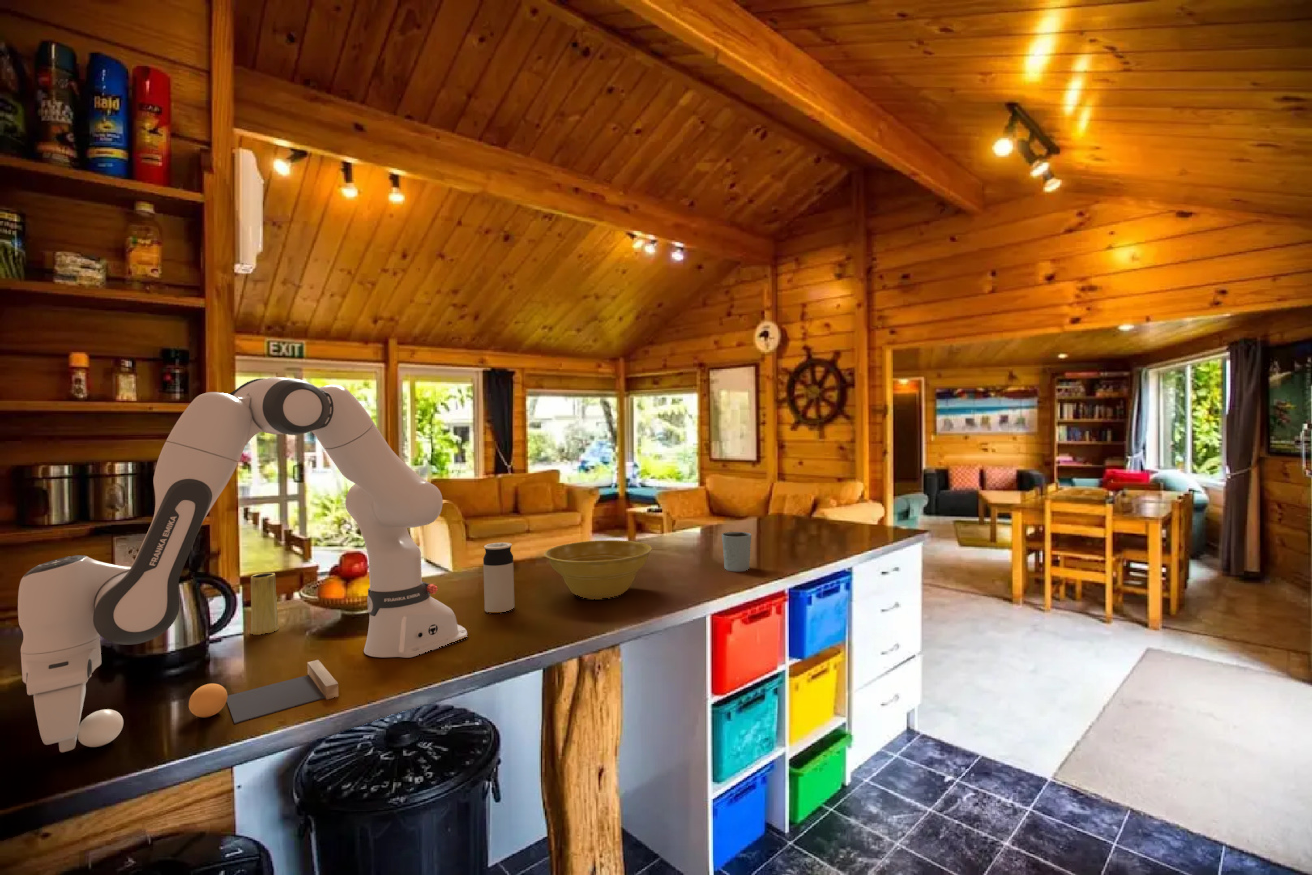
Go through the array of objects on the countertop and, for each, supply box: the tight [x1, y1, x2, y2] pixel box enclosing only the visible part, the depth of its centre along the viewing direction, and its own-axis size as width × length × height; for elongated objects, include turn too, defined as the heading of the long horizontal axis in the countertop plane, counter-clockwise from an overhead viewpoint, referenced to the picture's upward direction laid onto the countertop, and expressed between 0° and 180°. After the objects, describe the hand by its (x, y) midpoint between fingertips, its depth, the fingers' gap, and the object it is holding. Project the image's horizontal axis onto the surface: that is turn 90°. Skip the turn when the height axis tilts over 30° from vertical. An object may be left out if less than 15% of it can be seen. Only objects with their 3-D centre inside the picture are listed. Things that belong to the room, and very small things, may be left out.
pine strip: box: [306, 659, 339, 701], centre depth 117 cm, size 2×16×2 cm, turn 41°
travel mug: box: [482, 542, 515, 613], centre depth 164 cm, size 8×8×18 cm
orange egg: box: [188, 683, 228, 718], centre depth 106 cm, size 6×6×6 cm
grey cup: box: [721, 531, 752, 573], centre depth 206 cm, size 10×10×12 cm
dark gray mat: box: [226, 674, 326, 725], centre depth 112 cm, size 14×14×1 cm
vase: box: [250, 572, 280, 636], centre depth 151 cm, size 6×6×14 cm
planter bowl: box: [543, 539, 653, 600], centre depth 178 cm, size 32×32×13 cm
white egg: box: [77, 708, 124, 748], centre depth 96 cm, size 6×6×6 cm
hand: (68, 747), depth 94 cm, fingers closed
